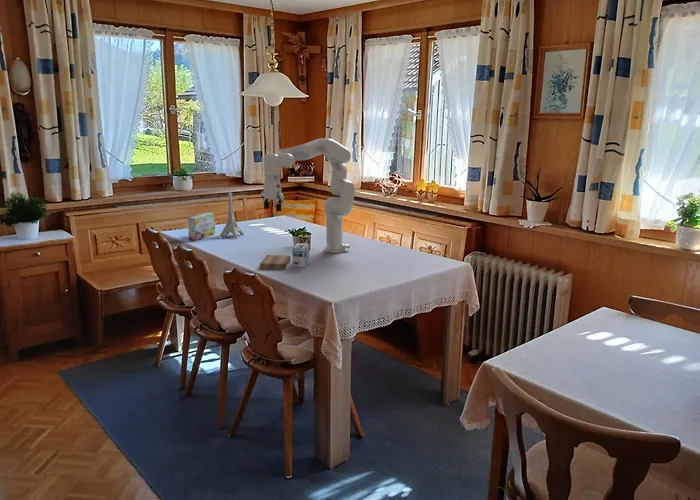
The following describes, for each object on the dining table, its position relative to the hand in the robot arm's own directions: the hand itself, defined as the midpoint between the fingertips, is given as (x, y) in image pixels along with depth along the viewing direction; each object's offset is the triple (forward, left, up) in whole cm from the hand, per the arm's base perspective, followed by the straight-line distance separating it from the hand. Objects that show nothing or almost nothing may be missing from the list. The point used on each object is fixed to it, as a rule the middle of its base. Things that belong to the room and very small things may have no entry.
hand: (272, 210), depth 295 cm
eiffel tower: (+40, -60, -30) cm, 78 cm away
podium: (-2, +4, -29) cm, 29 cm away
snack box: (+57, -54, -29) cm, 84 cm away
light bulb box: (-15, +2, -29) cm, 33 cm away
